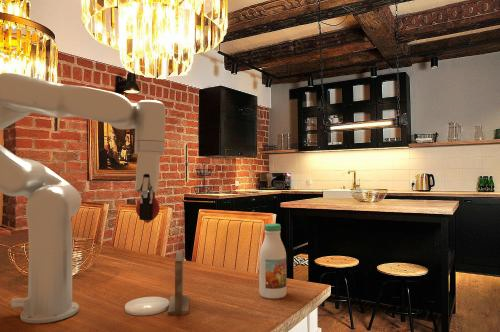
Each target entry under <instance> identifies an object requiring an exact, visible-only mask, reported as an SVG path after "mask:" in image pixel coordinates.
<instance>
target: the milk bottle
mask: <svg viewBox="0 0 500 332" xmlns="http://www.w3.org/2000/svg"><path fill="white" fill-rule="evenodd" d="M281 229H282V226H281V224H280V223H266V224H264V232H265V236H264V239H263V242H262V244H261V247H260V250H259V257H258V258H259V261H258V262H259V264H258V265H259V266H258V267H259V269H258V273H259V274H258V275H259V276H258V277H259V278H258V281H259V282H258V283H259V285H258V287H259V289H258V290H259V292H258V293H259V296H261V297H262V298H265V299H270V300H271V299H275V300H276V299H281V298H282V299H283V298H285V297H286V295H287V253H286V248H285V245H284V243H283V241H282V239H281Z"/></svg>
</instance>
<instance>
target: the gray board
mask: <svg viewBox="0 0 500 332" xmlns="http://www.w3.org/2000/svg"><path fill="white" fill-rule="evenodd" d="M175 254H176V255H175V260H174V295H170V298H169V308H168V309H167V316H173V315H174V316H175V315H189V314H190V313H189V311H190V310H189V309H190V295H189V294H186V295H185V294H184V250H177V251H176V253H175Z"/></svg>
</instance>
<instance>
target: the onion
mask: <svg viewBox="0 0 500 332" xmlns="http://www.w3.org/2000/svg"><path fill="white" fill-rule="evenodd" d="M152 204H153V219H152V220H143V222H144V223H146V224H149V223H150V222H152V221H153V220H154V219H156V218H157V216H158V215H159V213H160V210H161V209H160V208H161V207H160V203H159V201H158V200H157V199H156V197H155V198H154V197H153V196H152ZM135 213H136V214H137V216H138V217H139V214H140V199H139V200H138V202H137V204H136V206H135Z"/></svg>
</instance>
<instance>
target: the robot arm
mask: <svg viewBox="0 0 500 332" xmlns="http://www.w3.org/2000/svg"><path fill="white" fill-rule="evenodd" d="M31 114H37V115H43V116H48V117H52V118H58V119H66V118H70V117H71V118H82V119H86V120H87V119H88V120H91V121H97V122H101V123H105V124H109V125H110V126H111V127H113V128H115V129H117V130H132V129H134V155H137V158H136V159H137V160H136V171H135V186H134V190H135V192H136V193H140V199H139V200H140V214H139V216H138V218H139V220H140V221H144V220H152V219H153V204H152V196H153V197H154V198H155V199H156V192H157V191H159V181H160V166H161V165H160V160H161V157H160V156H165V146H166V145H165V144H166V143H165V142H166V141H165V139H166V136H165V135H166V106H165V104H164V103H163V102H162V101H160V100H155V99H154V100H152V99H151V100H150V99H146V100H145V99H144V100H143V99H142V100H139V101H138V102H136V103H134V102H131V101H130V100H129V99H128V98H127V97H125V96H124V95H122V94H119V93H117V92H113V91H109V90H104V89H99V88H95V87H89V86H81V85H73V84H63V83H59V82H55V81H50V80H46V79H41V78H36V77H32V76H27V75H23V74H18V73H11V72H4V73H0V131H1V130H3V129H5V128H7V127H9V126H11V125H13V124H15V123H17V122H18V121H20V120H22V119H23V118H26V117H27V116H29V115H31ZM0 193H2V194H3V195H5V196H8V197H24V198H26V199H27V201H26V205H25V218H26V222H27V228H28V229H27V231H28V232H27V233H28V282H27V283H28V285H27V286H28V287H27V289H28V290H27V292H28V293H27V295H28V296H26V297H24V298H21V297H13V298H11V300H10V303H9V304H10V308H11V309H12V310H13V309H15V310H17V309H22V311H21V313H20V320H21V321H22V322H24V323H27V324H46V323H53V322H58V321H61V320H64V319H68V318H70V317H73V316H74V315H75V314H77V313H78V312H79V310H80V307H79V303H77V302H76V301H73V230H72V219H71V218H72V217H74V216H75V215H76V214H77V213H78V212H79V210H80V208H81V206H82V198H81V194H80V193H79V191H78V190H77V188H76V187H74V186H73V185H71V184H70V183H69V182H68V181H66V180H65V179H63V178H62V177H61V176H59V175H58V174H56V173H55V172H54V171H53V170H51V169H50V168H48V166H46V165H44V164H43V163H42V162H39V161H36V160H33V159H30V158H29V159H28V158H23V157H19V156H17V155H16V154H15V153H13V152H11V151H10V150H8V149H7V148H6V147H4V146H3V145H2V144H0ZM153 220H154V219H153ZM153 220H152V221H153Z"/></svg>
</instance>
